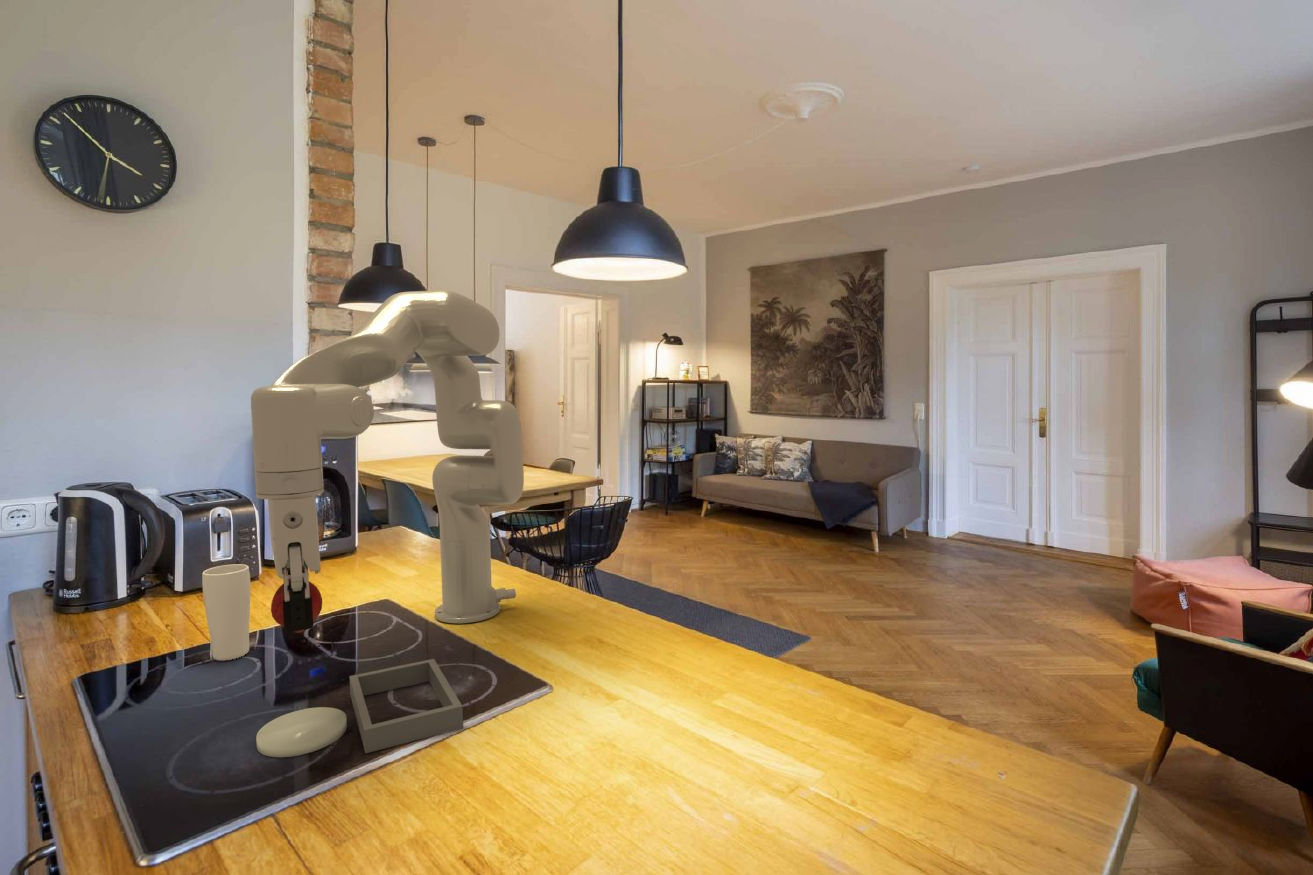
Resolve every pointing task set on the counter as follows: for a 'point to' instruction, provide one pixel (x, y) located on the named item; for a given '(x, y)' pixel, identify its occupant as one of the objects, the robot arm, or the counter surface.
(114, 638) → the counter surface
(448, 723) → the crate
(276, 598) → the onion
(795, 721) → the counter surface
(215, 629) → the drinking glass
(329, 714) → the cream oval pebble
